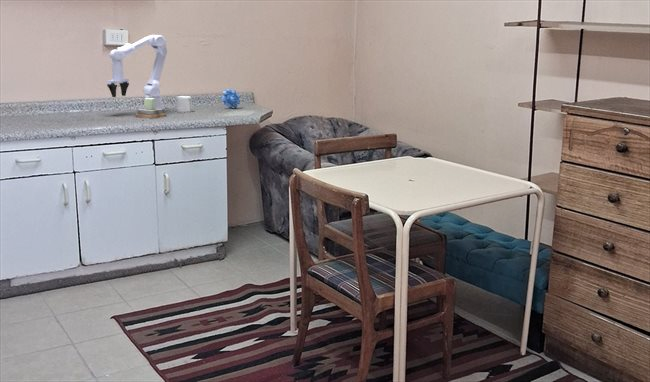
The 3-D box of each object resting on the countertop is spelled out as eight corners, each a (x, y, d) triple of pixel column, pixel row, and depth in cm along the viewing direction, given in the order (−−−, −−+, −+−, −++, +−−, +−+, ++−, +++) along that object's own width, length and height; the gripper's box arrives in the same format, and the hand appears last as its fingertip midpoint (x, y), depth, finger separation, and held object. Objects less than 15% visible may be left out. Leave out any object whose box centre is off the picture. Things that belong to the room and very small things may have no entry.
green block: (148, 108, 403) (148, 97, 401) (155, 109, 401) (155, 98, 400) (144, 109, 398) (143, 98, 397) (151, 110, 397) (151, 99, 396)
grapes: (223, 109, 434) (223, 89, 431) (220, 108, 440) (220, 88, 437) (242, 108, 438) (242, 89, 435) (238, 107, 444) (238, 87, 441)
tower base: (150, 116, 409) (149, 111, 408) (166, 118, 404) (166, 113, 403) (135, 118, 399) (135, 114, 398) (152, 120, 393) (152, 115, 393)
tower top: (149, 112, 407) (149, 107, 407) (163, 113, 403) (163, 109, 402) (137, 114, 398) (137, 109, 398) (152, 115, 394) (151, 111, 394)
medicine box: (192, 111, 426) (191, 96, 424) (189, 112, 422) (189, 97, 420) (178, 110, 427) (178, 96, 425) (176, 111, 423) (176, 96, 421)
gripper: (121, 70, 408) (122, 94, 412) (102, 72, 396) (104, 97, 399) (130, 71, 405) (132, 95, 408) (112, 72, 393) (113, 97, 396)
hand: (118, 96), depth 404 cm, fingers open, 7 cm apart
